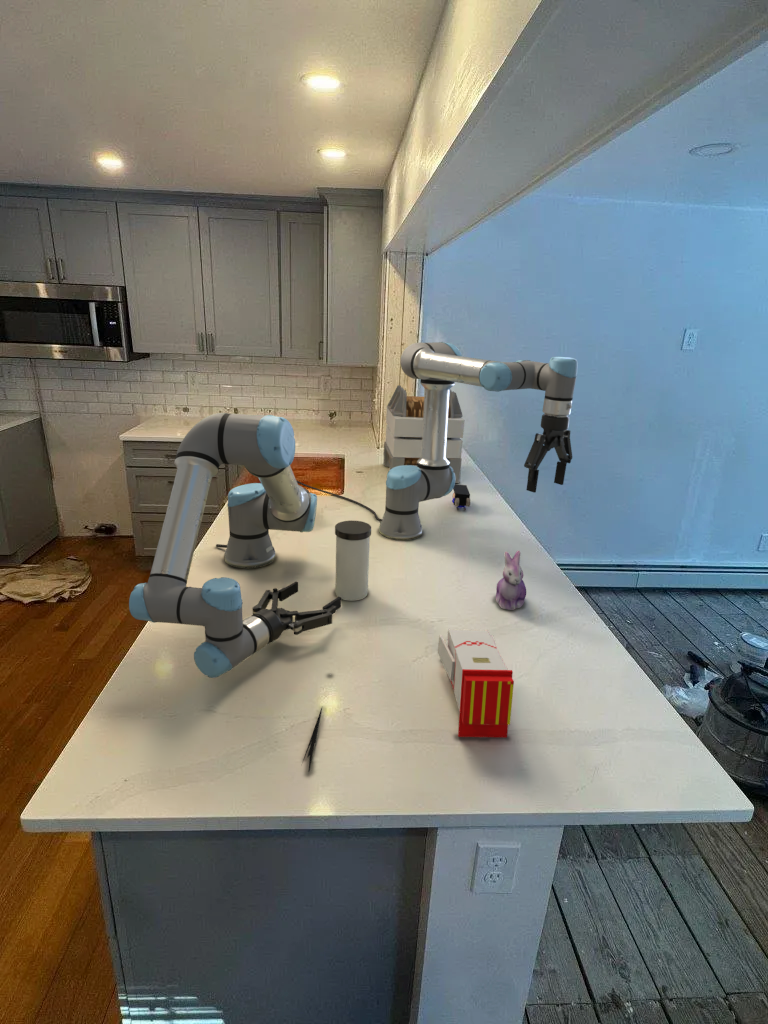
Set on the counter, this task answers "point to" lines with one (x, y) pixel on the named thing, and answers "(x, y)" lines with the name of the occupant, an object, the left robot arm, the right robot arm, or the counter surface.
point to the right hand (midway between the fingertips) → (545, 487)
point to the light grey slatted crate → (419, 431)
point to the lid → (353, 530)
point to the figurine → (511, 584)
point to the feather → (313, 740)
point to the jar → (352, 568)
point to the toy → (478, 682)
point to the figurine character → (461, 496)
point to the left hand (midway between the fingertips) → (318, 593)
